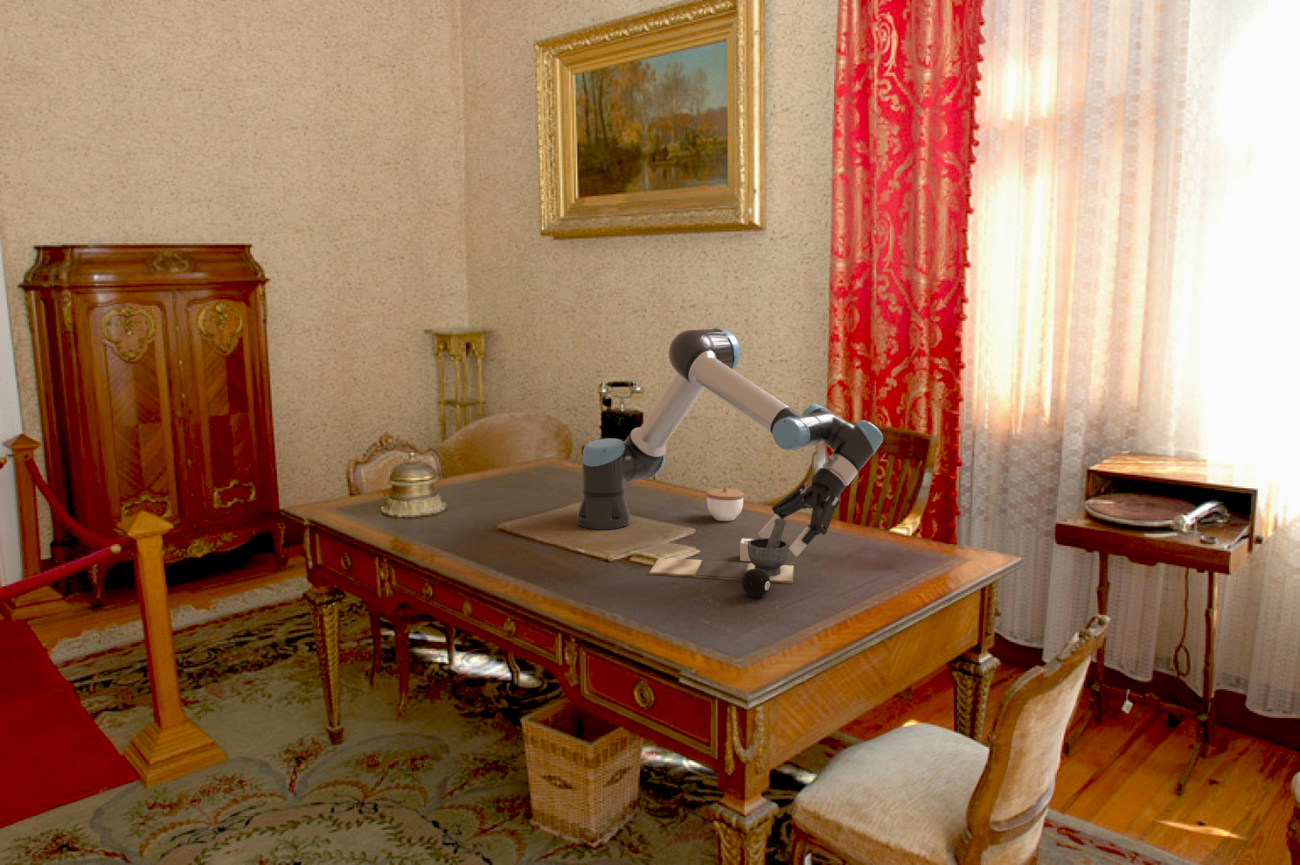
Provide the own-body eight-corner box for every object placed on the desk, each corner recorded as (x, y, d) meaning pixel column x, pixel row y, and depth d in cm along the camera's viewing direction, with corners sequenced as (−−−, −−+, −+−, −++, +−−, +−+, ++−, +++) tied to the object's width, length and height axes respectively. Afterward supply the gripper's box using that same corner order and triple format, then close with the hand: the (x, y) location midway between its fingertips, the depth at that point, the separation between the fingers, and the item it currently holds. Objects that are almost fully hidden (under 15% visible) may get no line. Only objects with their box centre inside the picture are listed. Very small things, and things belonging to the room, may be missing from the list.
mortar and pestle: (772, 581, 203) (774, 529, 201) (738, 573, 209) (739, 522, 207) (799, 570, 212) (800, 520, 210) (765, 562, 218) (767, 513, 216)
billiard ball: (751, 590, 199) (752, 563, 198) (774, 595, 195) (775, 569, 194) (736, 596, 194) (736, 569, 193) (759, 602, 191) (760, 575, 190)
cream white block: (739, 560, 221) (740, 542, 220) (741, 555, 225) (742, 538, 225) (758, 562, 220) (758, 543, 219) (759, 556, 224) (760, 539, 224)
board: (648, 574, 209) (648, 572, 209) (658, 558, 222) (658, 556, 222) (792, 584, 203) (792, 581, 203) (794, 567, 216) (794, 565, 216)
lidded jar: (743, 514, 267) (743, 483, 266) (743, 523, 257) (744, 491, 255) (706, 513, 268) (707, 482, 267) (705, 522, 258) (706, 490, 256)
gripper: (795, 457, 223) (741, 522, 220) (856, 476, 201) (796, 548, 197) (813, 477, 226) (759, 541, 223) (875, 497, 204) (816, 569, 200)
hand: (776, 545), depth 210 cm, fingers open, 13 cm apart
